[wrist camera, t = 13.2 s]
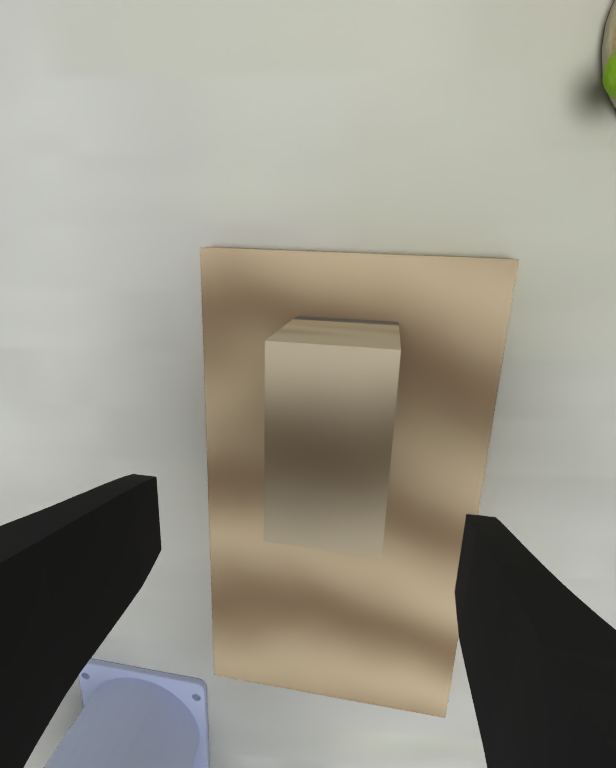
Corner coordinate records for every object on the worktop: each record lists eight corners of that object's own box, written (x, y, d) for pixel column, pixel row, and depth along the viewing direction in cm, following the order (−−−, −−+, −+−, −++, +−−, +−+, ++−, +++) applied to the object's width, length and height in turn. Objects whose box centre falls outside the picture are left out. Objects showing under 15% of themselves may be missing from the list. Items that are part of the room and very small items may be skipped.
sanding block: (384, 483, 20) (381, 557, 15) (293, 473, 21) (263, 541, 16) (398, 322, 18) (400, 350, 13) (296, 316, 19) (265, 340, 14)
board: (442, 695, 24) (445, 718, 23) (222, 656, 26) (214, 675, 25) (510, 258, 18) (518, 259, 17) (211, 247, 20) (199, 247, 19)
